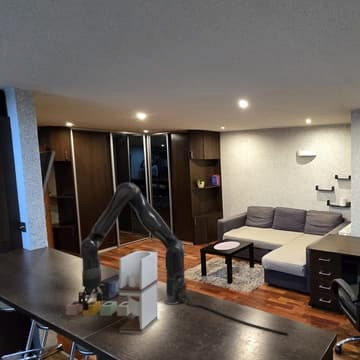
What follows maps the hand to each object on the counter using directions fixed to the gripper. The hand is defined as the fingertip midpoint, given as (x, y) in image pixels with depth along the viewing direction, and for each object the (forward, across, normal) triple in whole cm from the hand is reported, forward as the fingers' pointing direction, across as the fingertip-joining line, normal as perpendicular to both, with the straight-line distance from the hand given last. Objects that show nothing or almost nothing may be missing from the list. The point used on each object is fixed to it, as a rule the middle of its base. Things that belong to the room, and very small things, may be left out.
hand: (92, 305), depth 141 cm
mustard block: (+4, 0, 0) cm, 4 cm away
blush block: (+4, 0, +9) cm, 10 cm away
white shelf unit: (+4, -11, -31) cm, 33 cm away
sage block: (+4, 0, -8) cm, 9 cm away
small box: (+4, +19, +3) cm, 20 cm away
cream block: (+4, 0, -17) cm, 17 cm away
